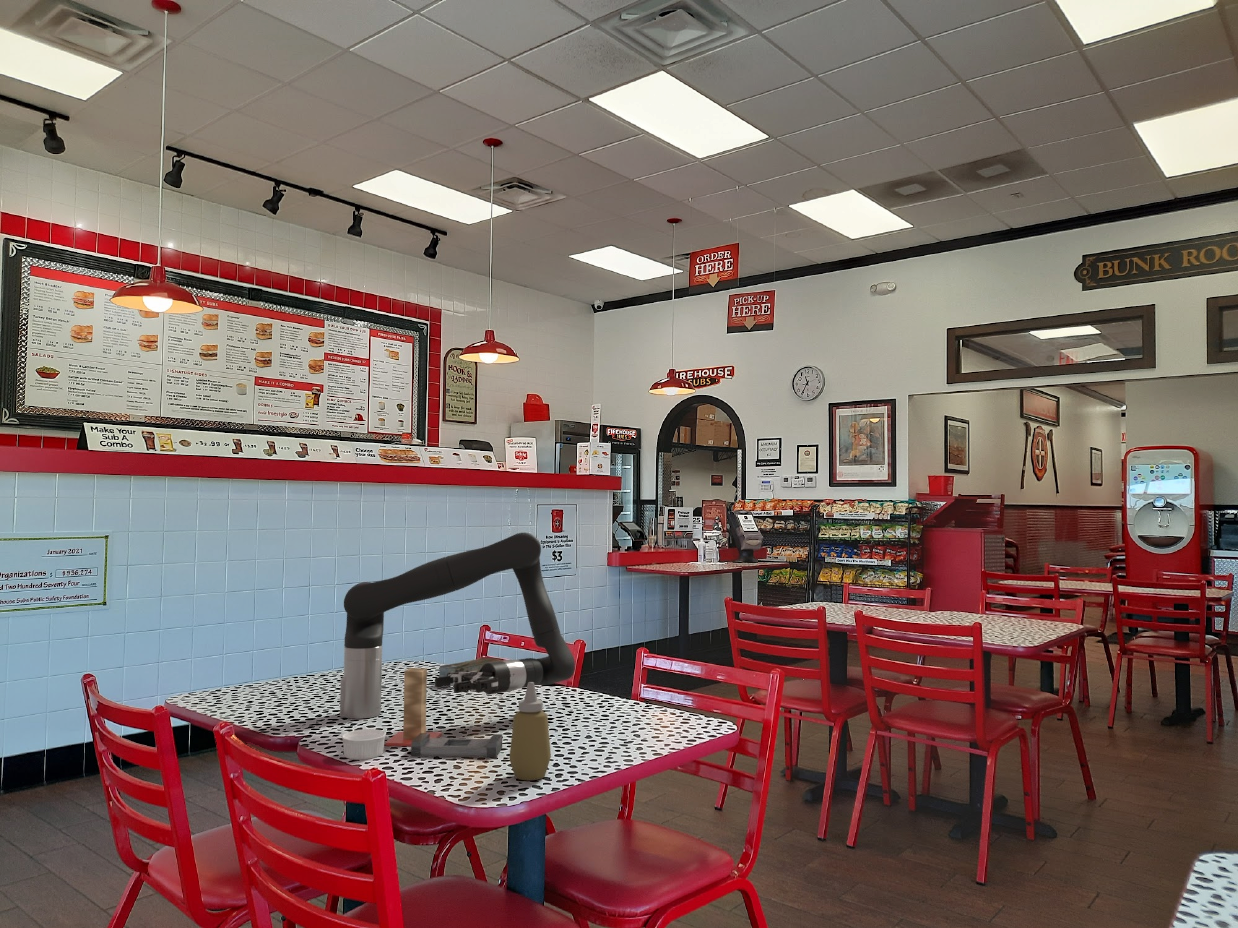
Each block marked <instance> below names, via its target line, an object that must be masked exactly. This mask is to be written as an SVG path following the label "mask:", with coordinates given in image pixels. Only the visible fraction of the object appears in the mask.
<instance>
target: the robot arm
mask: <svg viewBox="0 0 1238 928" xmlns="http://www.w3.org/2000/svg"><path fill="white" fill-rule="evenodd" d="M541 545H542V544H541V542H540V540H539V539H538V538H537V537H536V536H535V535H534V534H532V533H529V532H519V533H515V534H513V535H511V536H509V537H506V538H504V539H501V540H500V541H497V542H494V543H492V544H489V545H487V546H483V547H480V548H476V549H471V550H470V549H469V550H466V551H463V552H457V553H454V554H451V555H446V556H444V557H441V558H437V559H434V560H431V561H428V562H426V563H423V564H420V565H418V566H416V567H414V568H412V569H409V570H408V571H405V572H404V573H402V574H400V575H397V576H394V577H390V578H386V579H383V580H378V581H373V582H371V581H363V582H359V583H356V584H355V585H353V586H352V587H351V588H349V590H348V591H347V592H346V593H345V596H344V599H343V608H344V611H345V613H346V626H345V633H344V646H343V647H344V648H343V649H344V650H343V651H344V653H343V654H344V655H343V676H342V677H341V678H340V691H339V692H340V693H339V697H340V698H339V717H340V718H341V717H342V718H347V719H368V718H369V719H370V718H373V717H377V716H380V715H381V714H382V677H383V676H382V674H383V673H382V672H383V669H382V668H383V638H384V637H383V636H384V626H385V625H384V623H385V622H384V621H385V620H384V617H385V612H386V613H387V612H388V611H390V610H392V609H395V608H398V607H400V606H403V605H406V604H411V603H416V602H420V601H425V600H428V599H429V600H430V599H433V598H437V597H441V596H443V595H446V594H450V593H453V592H456V591H459V590H461V589H464V588H466V587H469V586H471V585H473V584H475V583H477V582H480V581H481V580H483V579H485V578H486V577H489V576H491V575H493V574H497V573H500V572H505V571H508V570H512V571H513V573H514V574H515V576H516V579H517V582H518V584H519V588H520V590H521V593H522V597H523V602H524V605H525V609H526V615H527V619H528V623H529V626H530V629H531V634H532V638H533V639H534V643H535V645H536V647H538V648H542V649H544V650H545V651H546V653H547V655H548V656H544V657H539V658H534V657H528V658H527V657H526V658H520V659H506V660H504V659H503V660H501V661H496V662H489V663H485V664H484V665H483V666H482V667H481V670H480V671H479V673H478V671H471V672H469V671H468V670H466V671H461V672H453V673H447V676H443V677H439V676H438V677H435V678H434V687H436V688H442V687H447V686H452V685H454V688H453V693H456V694H458V693H464V692H470V693H473V692H476V693H478V694H480V693H483V692H484V694H487V695H495V694H497V695H498V694H501V693H507V692H514V691H516V690H520V689H524V688H526V689H527V685H528V682H534V685H535V686H546V685H547V686H548V685H552V684H556V683H560V682H565V681H567V680H569V679H571V678H572V677H573V676H574V675H575V671H576V662H575V658H574V656H573V653H572V651H571V649H570V648H569V646H568V644H567V642H566V640H565V639H564V637H563V636H562V634H561V631H560V627H559V622H558V620H557V619H558V618H557V617H556V613H555V610H554V607H553V605H552V602H551V599H550V597H549V595H548V592H547V589H546V586H545V583H544V579H543V575H542V574H543V573H542V568H541V567H542V566H541V560H540V559H541V558H540V557H541V552H542V546H541ZM453 677H455V680H454V681H453Z"/></svg>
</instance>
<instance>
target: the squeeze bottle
mask: <svg viewBox="0 0 1238 928" xmlns="http://www.w3.org/2000/svg"><path fill="white" fill-rule="evenodd" d="M535 686H536V685H534V682H528V685H527V687H526V691H525V694H524V698H523V699H521V700H519V701H518V711H517V712H515V714H514V715H513V721H512V730H511V732H512V733H511V739H510V749H509V758H508V759H509V763H510V764H511V769H512V772H513V775H514V777H515V778H516V779H518V780H523V781H535V780H536V781H537V780H541V779H543V778H545V776H546V773H547V770H548V767H549V763H550V760H551V757H552V753H551V751H552V750H551V742H550V741H551V740H550V731H549V730H550V729H549V720H548V719H549V718H548V714H547V713H546V712H545V711H543V709H544V706H543V704H544V702H543V700H542V699H538V697H537V691H536V687H535Z"/></svg>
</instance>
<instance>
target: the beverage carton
mask: <svg viewBox="0 0 1238 928" xmlns="http://www.w3.org/2000/svg"><path fill="white" fill-rule="evenodd" d="M496 661H502V659H501V658H494V657H493V658H492V657H484V656H483V657H482V656H481V657H479V658H477V659H476V658H475V659H472V660H466V661H462V662H456V663H451V664H445V665H440V666H438V669H439V672H438V673H439V674H438V677H443V676H447V673H453V672H461V671H466V670H468V671H469V672H471V671H478V673H479V671H480V670H481V667H482V666H483V665H484V664H485V663H489V662H496ZM454 680H455V677H453V681H454ZM452 686H453V687H454V685H452Z"/></svg>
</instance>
